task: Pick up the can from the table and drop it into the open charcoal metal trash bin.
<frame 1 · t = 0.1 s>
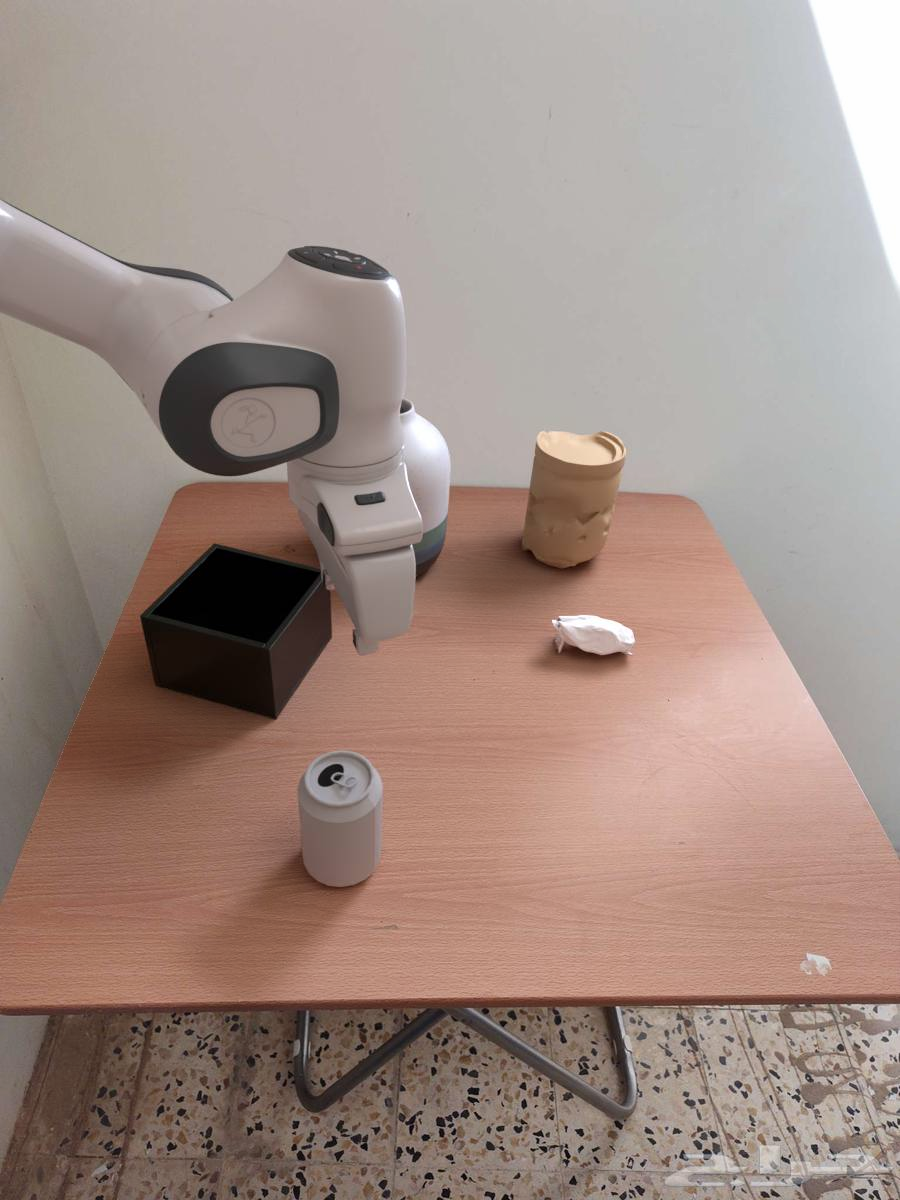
hand: (348, 615, 70), 23 cm above the table, tool pointing down, fingers open, 8 cm apart
bin: (247, 660, 98), on the table
can: (342, 858, 77), on the table
vase: (386, 560, 118), on the table
container: (562, 552, 122), on the table
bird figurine: (592, 649, 105), on the table
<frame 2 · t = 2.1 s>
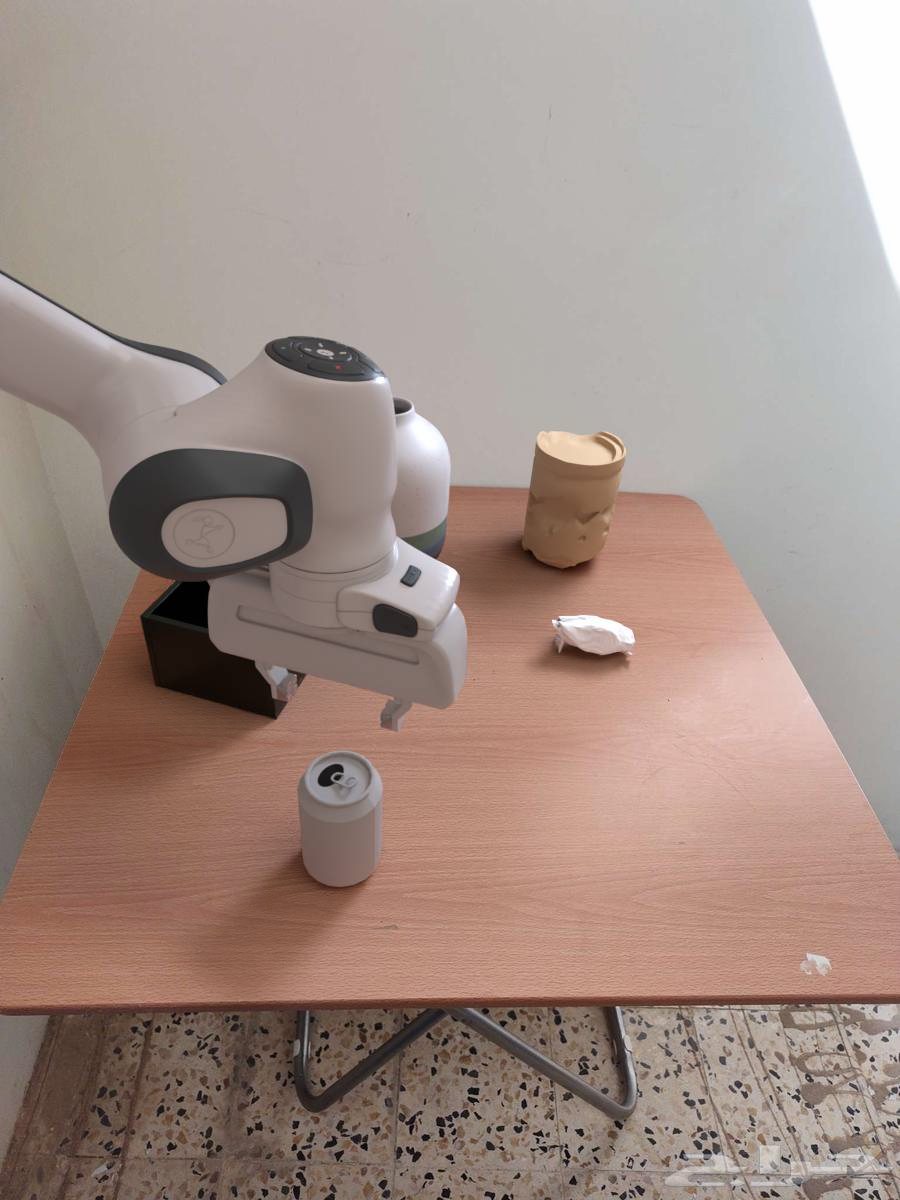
hand: (338, 709, 65), 20 cm above the table, tool pointing down, fingers open, 8 cm apart
nothing on the table moved.
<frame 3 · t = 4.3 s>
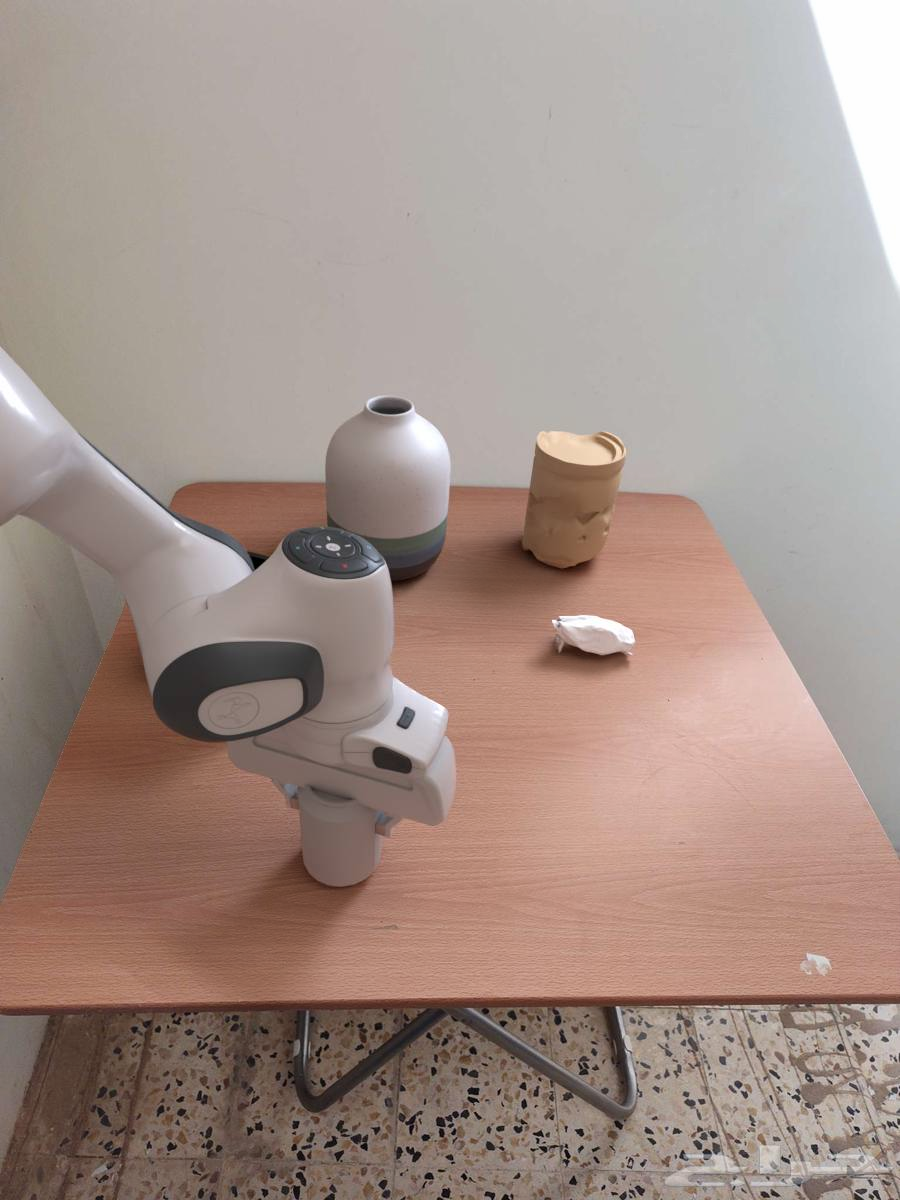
hand: (341, 816, 73), 6 cm above the table, tool pointing down, fingers closed on can, 7 cm apart
can: (342, 858, 77), on the table, touching gripper
everything else where it was.
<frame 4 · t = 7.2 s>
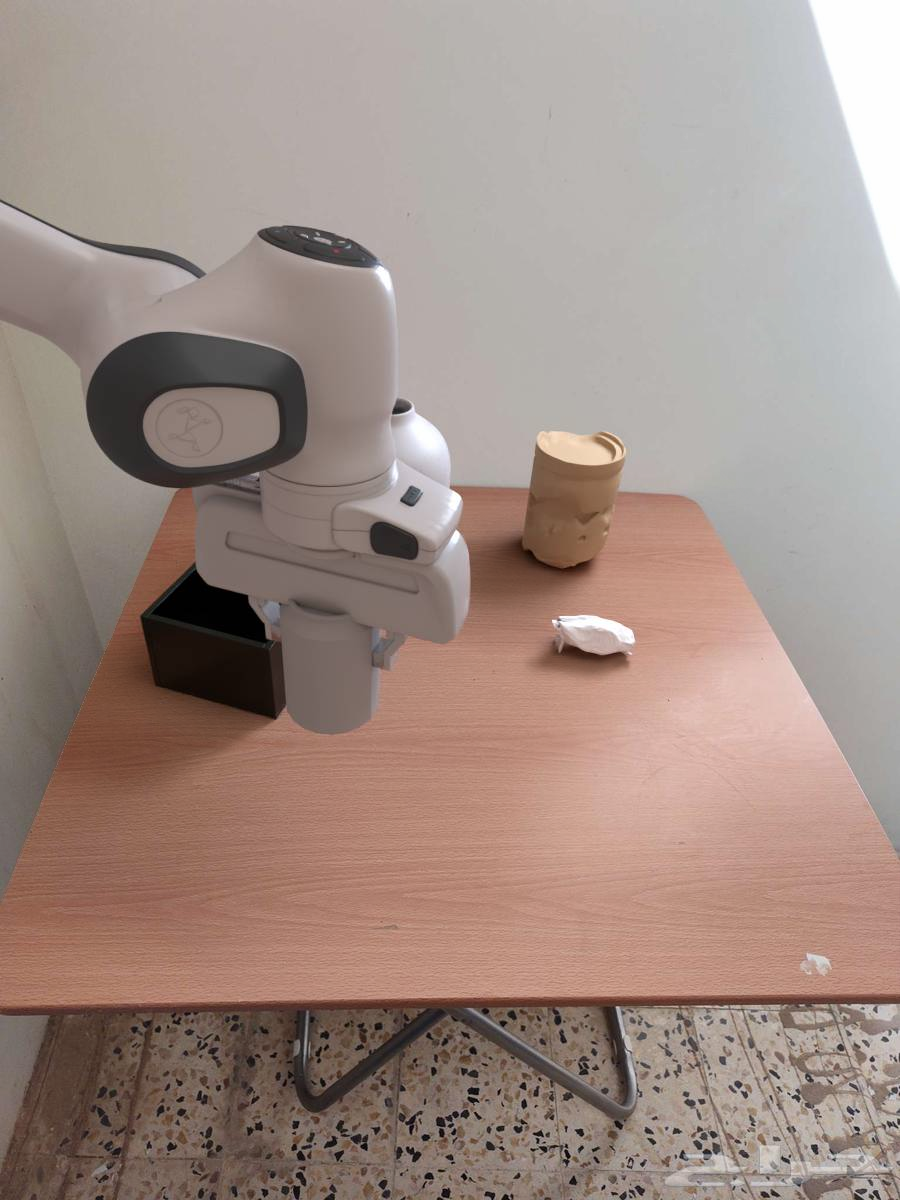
hand: (332, 650, 62), 26 cm above the table, tool pointing down, fingers closed on can, 7 cm apart
can: (333, 709, 66), point 20 cm above the table, touching gripper
everything else where it was.
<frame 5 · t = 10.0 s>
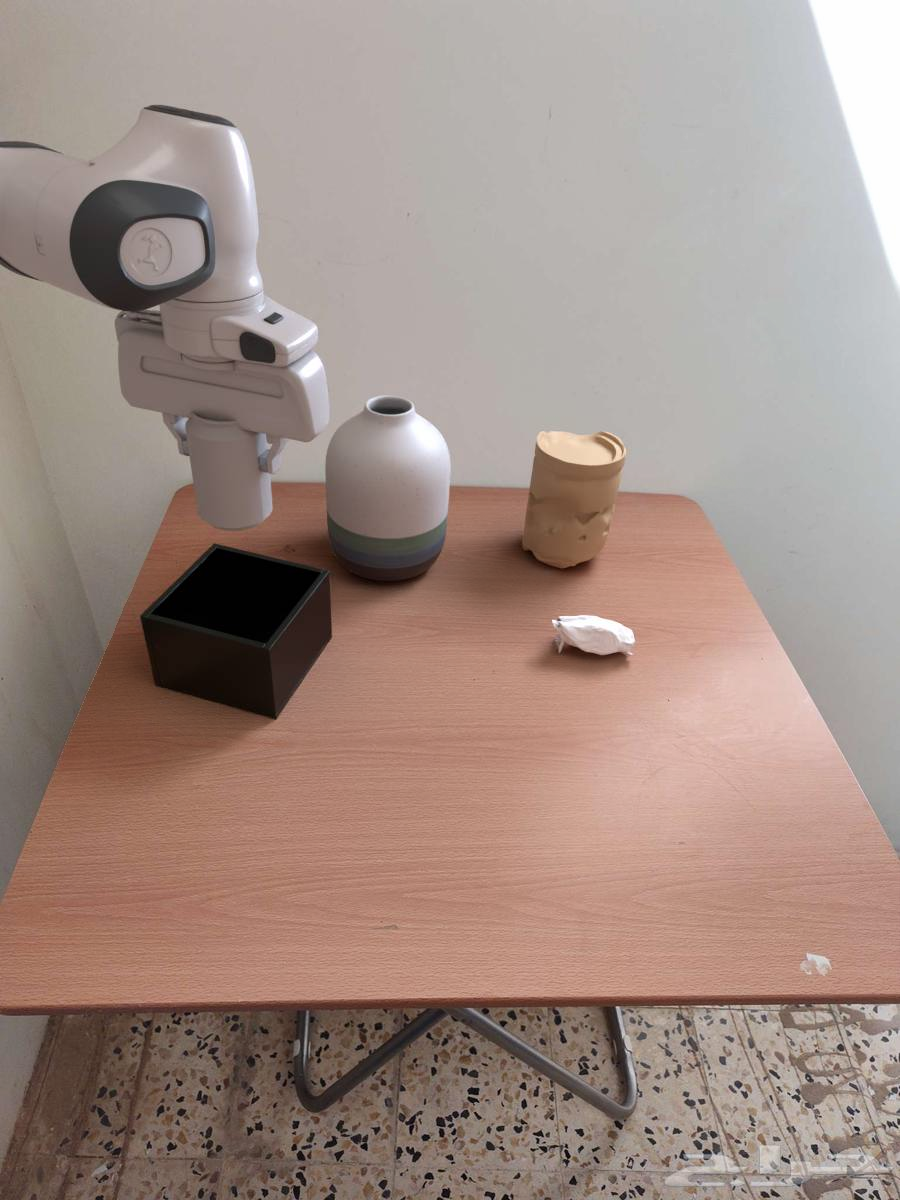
hand: (230, 462, 79), 29 cm above the table, tool pointing down, fingers closed on can, 7 cm apart
can: (236, 517, 83), point 22 cm above the table, touching gripper
everything else where it was.
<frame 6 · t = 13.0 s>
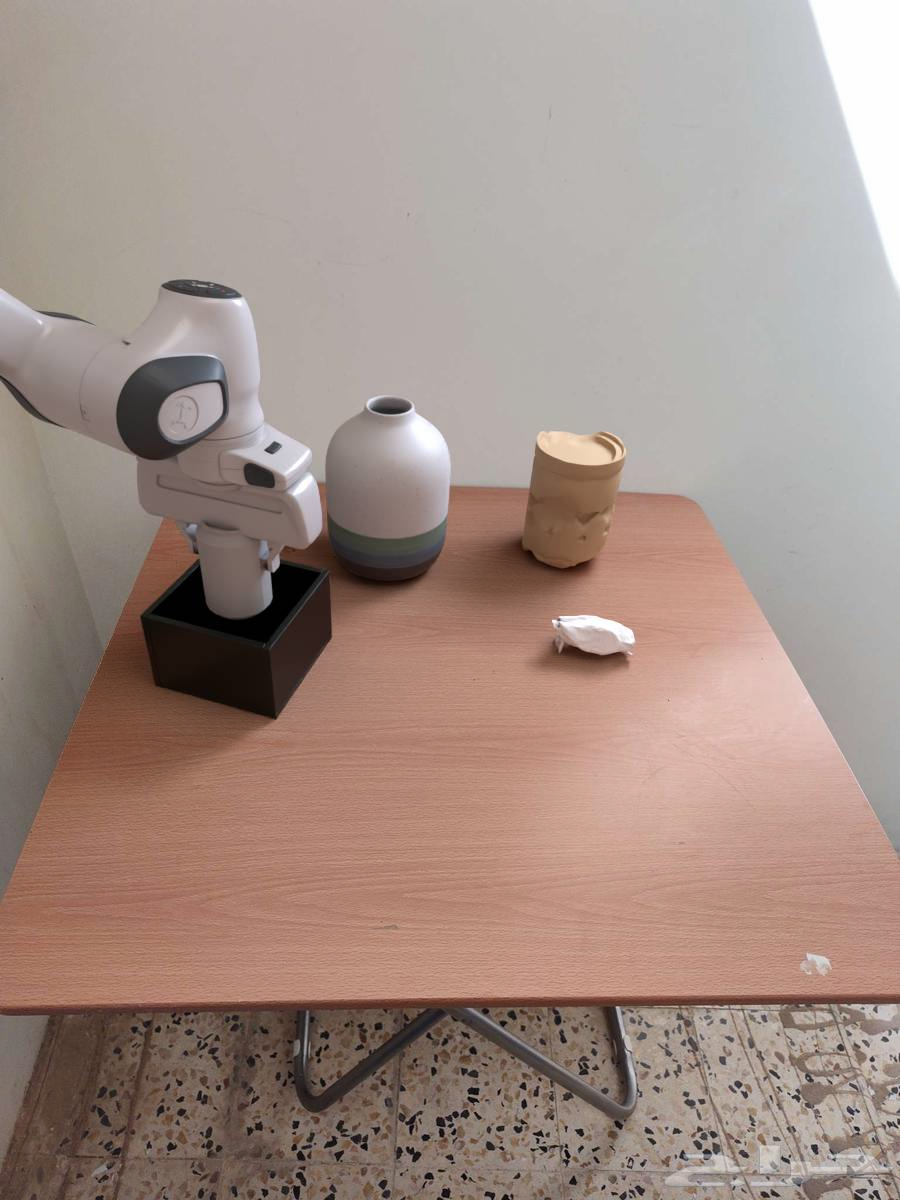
hand: (235, 560, 89), 15 cm above the table, tool pointing down, fingers closed on can, 7 cm apart
can: (240, 605, 93), point 9 cm above the table, touching gripper
everything else where it was.
when the fingers open (8 cm above the table, at t = 15.6 s): can drops 1 cm, resting on bin.
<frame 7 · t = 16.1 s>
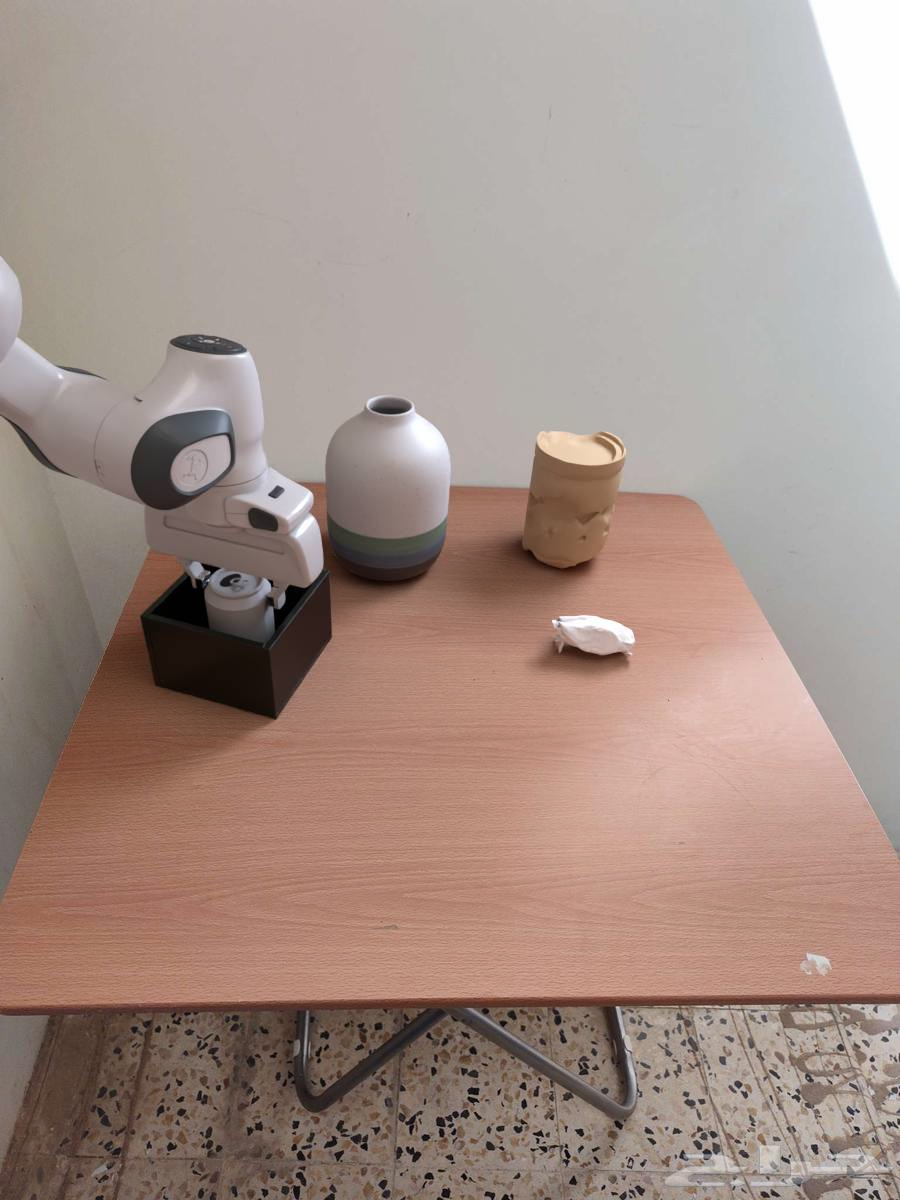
hand: (239, 595, 92), 10 cm above the table, tool pointing down, fingers open, 8 cm apart
can: (246, 659, 98), resting on bin
everything else where it was.
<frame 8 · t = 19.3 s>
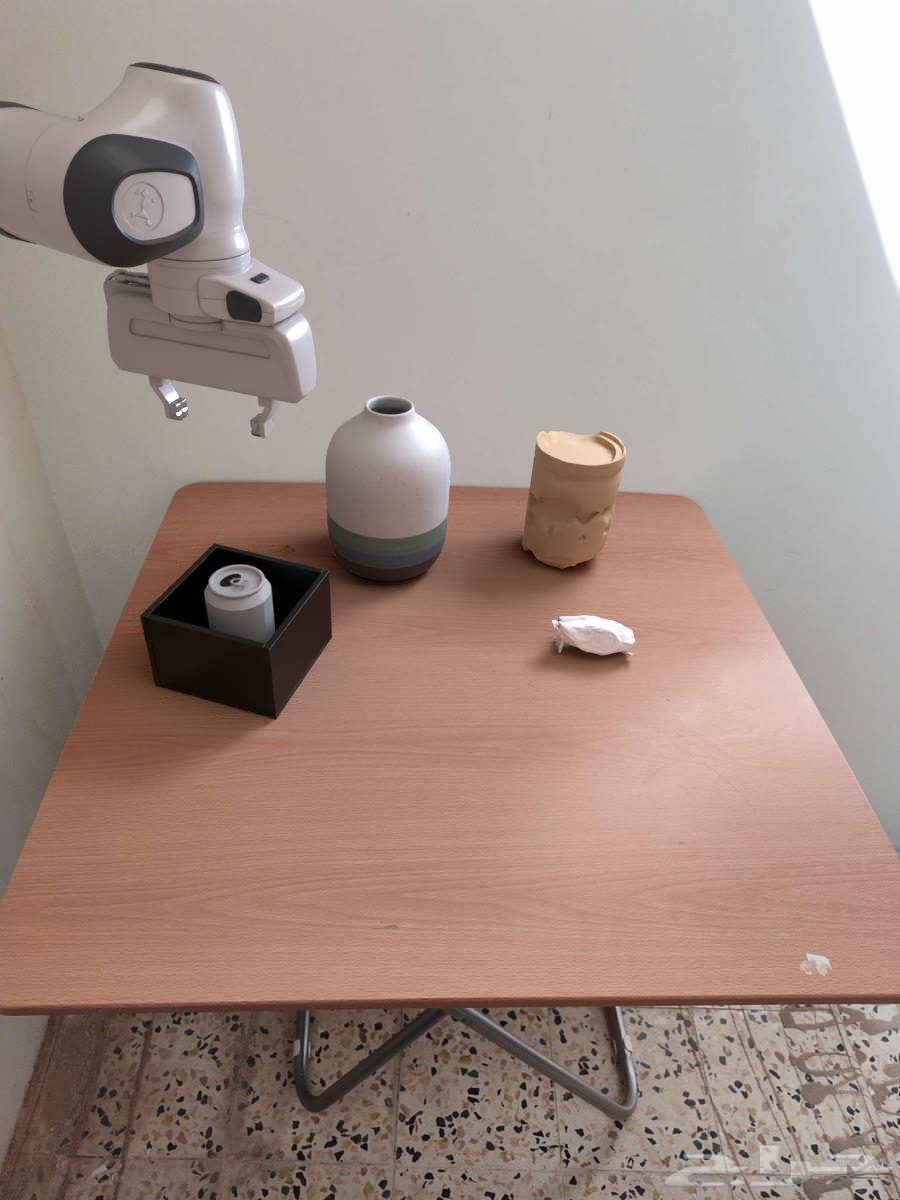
hand: (219, 426, 80), 31 cm above the table, tool pointing down, fingers open, 8 cm apart
nothing on the table moved.
at the end: can inside the target area in the bin (0.2 cm from its centre), point 0.3 cm above the bin's base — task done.
